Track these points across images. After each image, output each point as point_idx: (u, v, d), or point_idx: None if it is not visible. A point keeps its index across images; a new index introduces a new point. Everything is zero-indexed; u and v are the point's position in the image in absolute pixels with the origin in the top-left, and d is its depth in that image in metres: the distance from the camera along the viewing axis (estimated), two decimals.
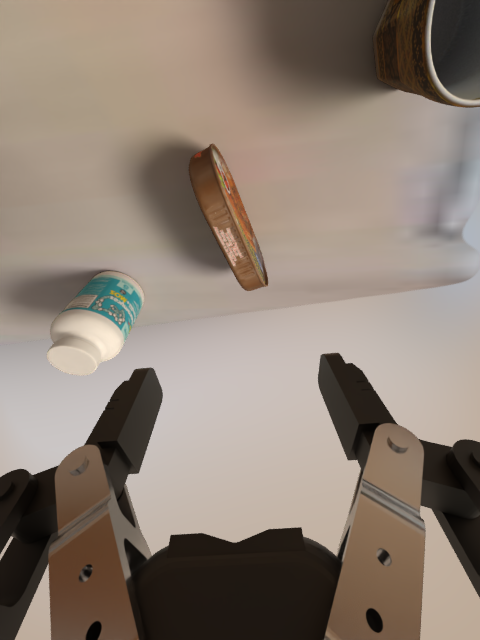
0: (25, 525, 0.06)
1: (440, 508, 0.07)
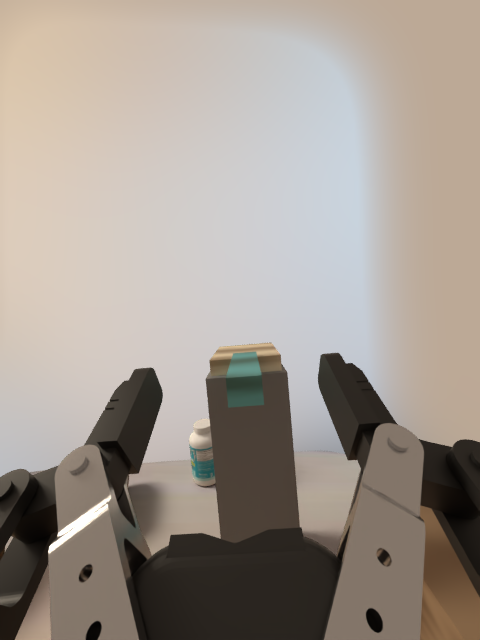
0: (25, 525, 0.06)
1: (440, 509, 0.07)
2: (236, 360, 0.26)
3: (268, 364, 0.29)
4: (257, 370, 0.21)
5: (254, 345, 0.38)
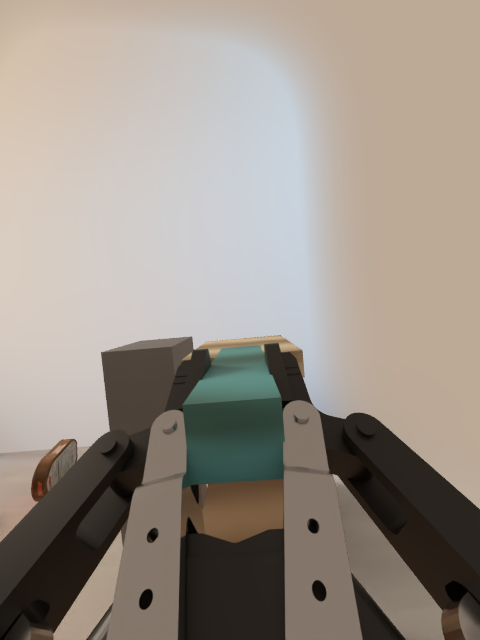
0: (127, 477, 0.07)
1: (338, 473, 0.08)
2: (223, 359, 0.13)
3: None
4: (267, 381, 0.08)
5: (256, 338, 0.26)
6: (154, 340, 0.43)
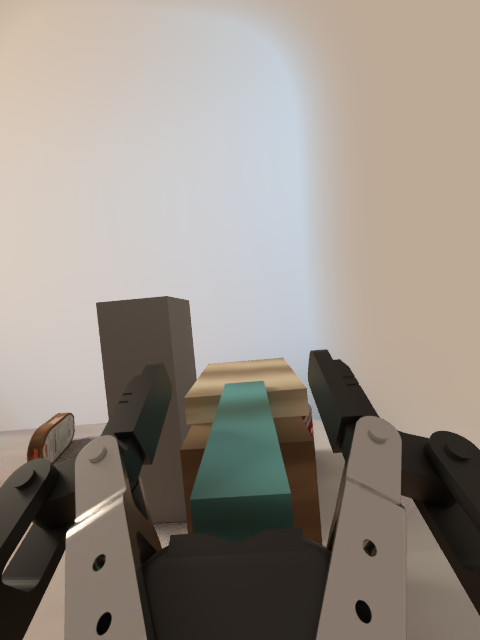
0: (47, 511, 0.07)
1: (418, 497, 0.07)
2: (228, 407, 0.13)
3: (285, 404, 0.17)
4: (275, 459, 0.08)
5: (259, 362, 0.26)
6: None
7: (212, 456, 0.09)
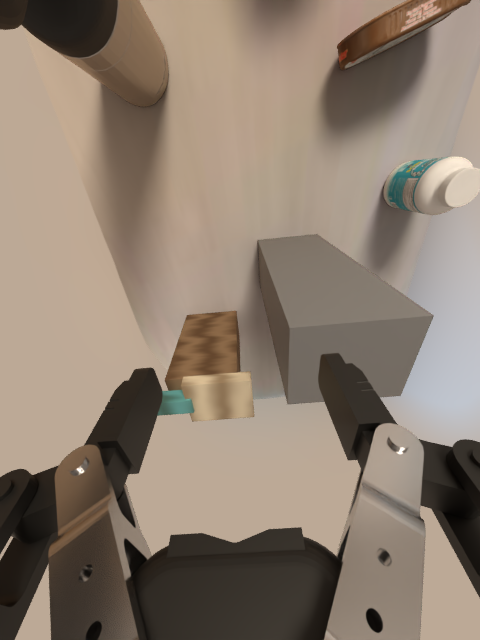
0: (25, 525, 0.06)
1: (439, 508, 0.07)
2: (163, 405, 0.38)
3: None
4: None
5: (243, 406, 0.39)
6: (406, 347, 0.21)
7: None
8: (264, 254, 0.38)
